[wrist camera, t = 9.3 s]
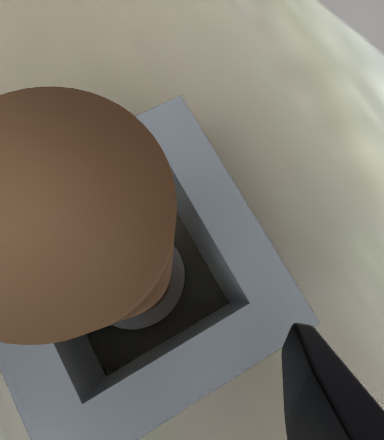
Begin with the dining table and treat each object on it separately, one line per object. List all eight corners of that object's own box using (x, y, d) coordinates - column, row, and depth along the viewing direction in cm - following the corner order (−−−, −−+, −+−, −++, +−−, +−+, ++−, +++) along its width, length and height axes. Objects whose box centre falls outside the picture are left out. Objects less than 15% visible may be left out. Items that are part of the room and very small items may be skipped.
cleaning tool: (132, 347, 16) (6, 504, 4) (69, 276, 17) (-232, 193, 4) (202, 280, 17) (297, 215, 4) (140, 214, 18) (69, -10, 5)
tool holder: (86, 438, 15) (53, 492, 11) (-8, 236, 17) (-69, 212, 13) (281, 317, 17) (320, 322, 13) (178, 144, 19) (180, 95, 14)
